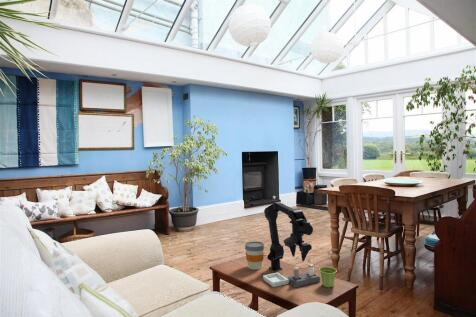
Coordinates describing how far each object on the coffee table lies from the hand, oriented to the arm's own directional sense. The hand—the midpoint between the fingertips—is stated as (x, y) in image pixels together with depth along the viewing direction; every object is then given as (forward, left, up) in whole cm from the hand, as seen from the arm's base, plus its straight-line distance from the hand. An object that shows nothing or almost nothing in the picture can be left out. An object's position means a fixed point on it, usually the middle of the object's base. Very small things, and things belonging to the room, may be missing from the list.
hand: (298, 258), depth 179 cm
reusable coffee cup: (-31, -12, -13) cm, 36 cm away
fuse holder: (+3, +2, -13) cm, 13 cm away
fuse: (+3, +7, -13) cm, 15 cm away
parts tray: (-5, -12, -13) cm, 18 cm away
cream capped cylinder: (+3, -3, -13) cm, 13 cm away
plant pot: (+13, +11, -13) cm, 21 cm away
